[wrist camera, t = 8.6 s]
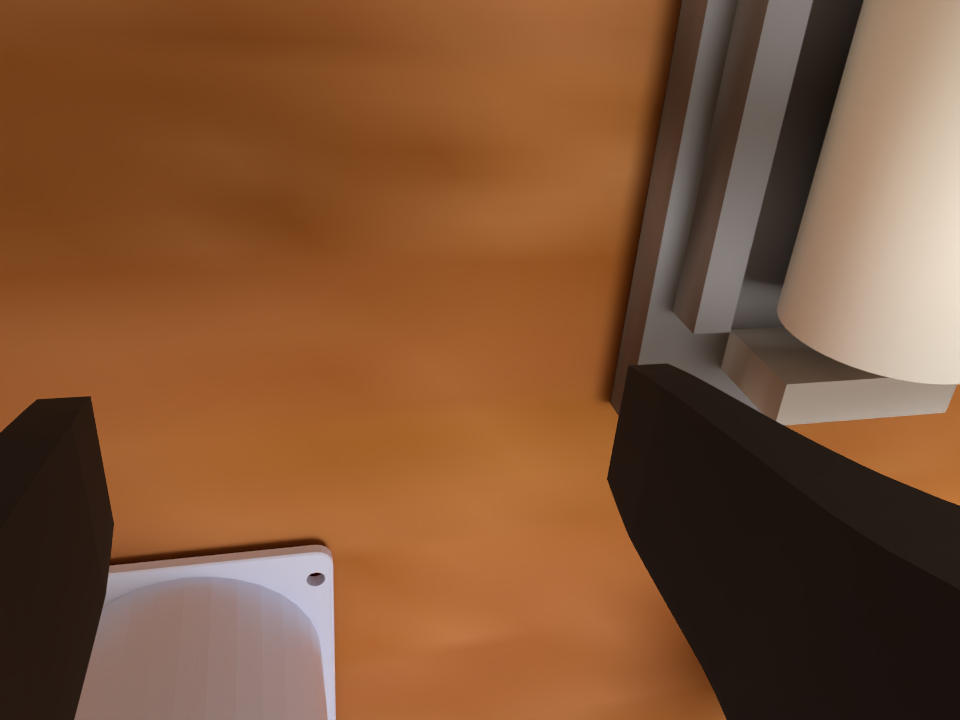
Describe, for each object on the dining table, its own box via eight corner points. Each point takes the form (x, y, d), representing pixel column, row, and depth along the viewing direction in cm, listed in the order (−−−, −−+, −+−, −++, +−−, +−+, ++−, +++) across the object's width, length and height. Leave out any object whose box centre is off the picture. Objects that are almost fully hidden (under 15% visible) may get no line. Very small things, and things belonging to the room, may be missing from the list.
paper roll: (898, 293, 23) (1043, 388, 19) (736, 300, 22) (854, 403, 18) (1022, -52, 19) (1244, -28, 15) (831, -69, 18) (1014, -47, 13)
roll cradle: (905, 383, 27) (999, 457, 23) (610, 403, 24) (668, 490, 21) (1138, -231, 19) (1332, -252, 15) (734, -290, 16) (859, -330, 13)
